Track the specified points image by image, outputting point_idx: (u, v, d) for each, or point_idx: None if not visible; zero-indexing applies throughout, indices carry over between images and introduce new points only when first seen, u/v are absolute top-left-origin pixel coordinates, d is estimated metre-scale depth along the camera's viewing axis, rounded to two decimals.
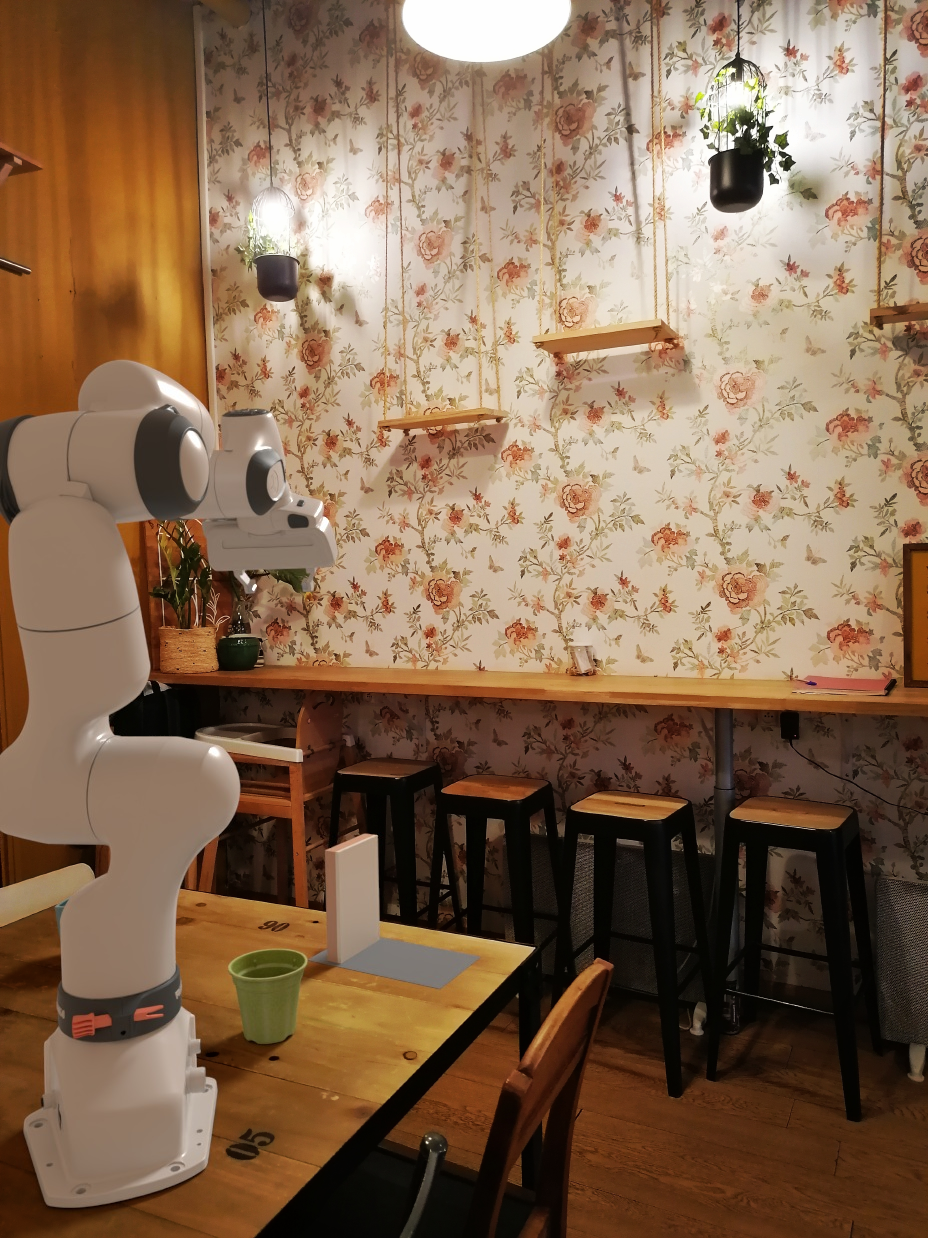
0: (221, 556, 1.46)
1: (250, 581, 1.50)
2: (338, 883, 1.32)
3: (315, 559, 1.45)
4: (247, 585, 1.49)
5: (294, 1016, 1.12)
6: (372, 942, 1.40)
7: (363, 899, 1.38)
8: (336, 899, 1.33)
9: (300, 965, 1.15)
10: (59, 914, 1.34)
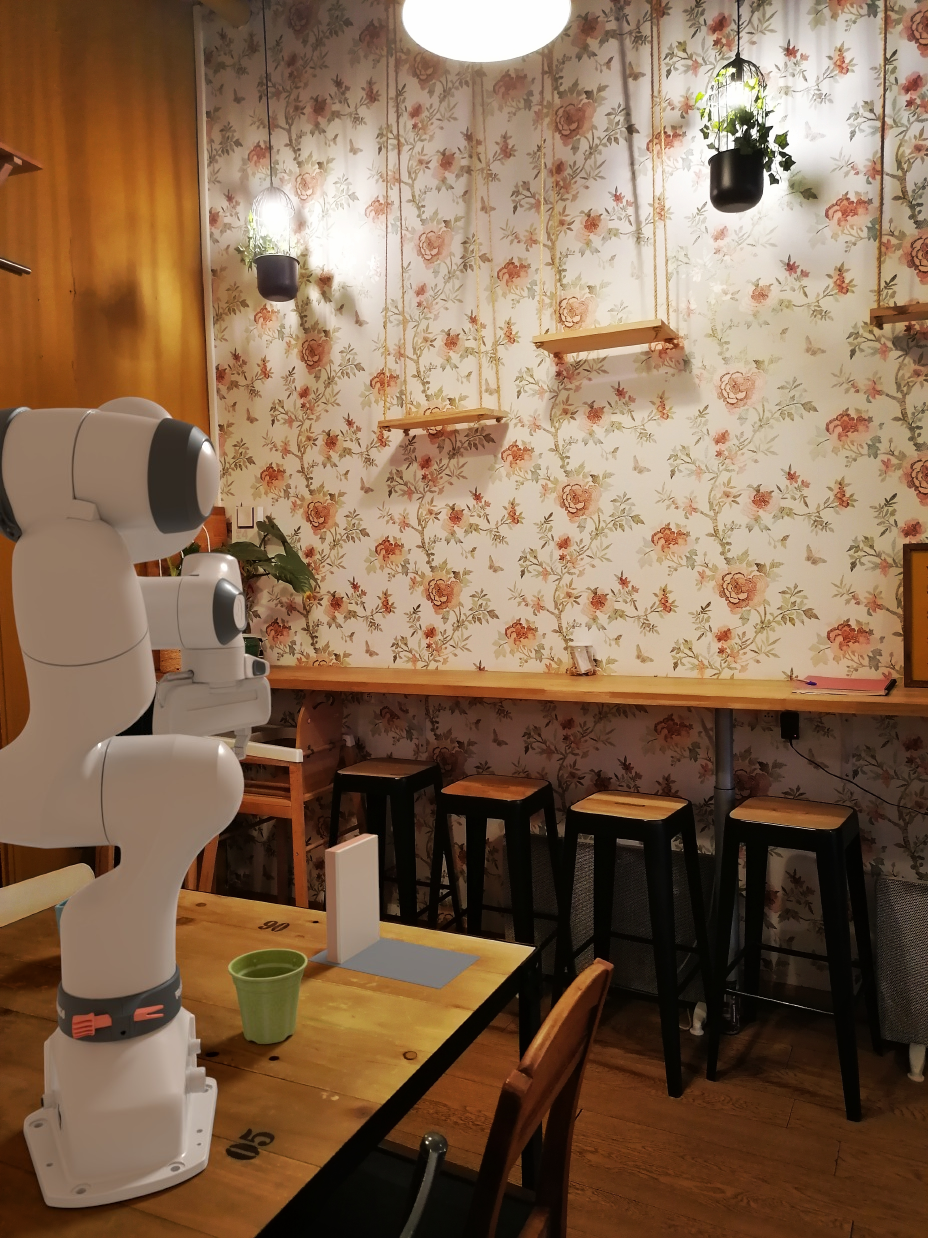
0: (183, 721, 1.25)
1: None
2: (338, 883, 1.32)
3: (258, 715, 1.38)
4: None
5: (294, 1016, 1.12)
6: (372, 942, 1.40)
7: (363, 899, 1.38)
8: (336, 899, 1.33)
9: (300, 965, 1.15)
10: (59, 914, 1.34)
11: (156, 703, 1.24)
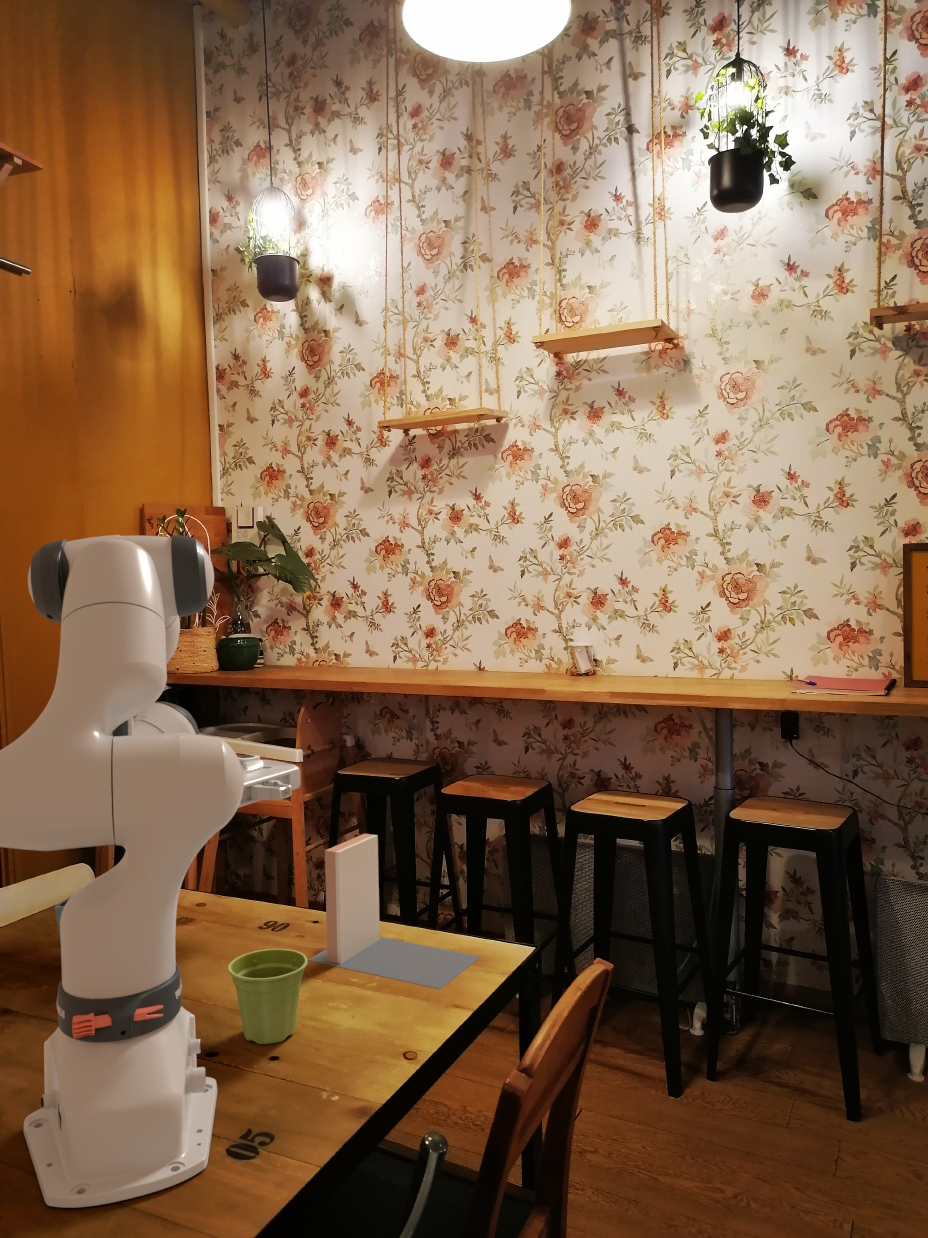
0: None
1: None
2: (338, 883, 1.32)
3: (283, 768, 1.52)
4: (274, 787, 1.43)
5: (294, 1016, 1.12)
6: (372, 942, 1.40)
7: (363, 899, 1.38)
8: (336, 899, 1.33)
9: (300, 965, 1.15)
10: (59, 914, 1.34)
11: None
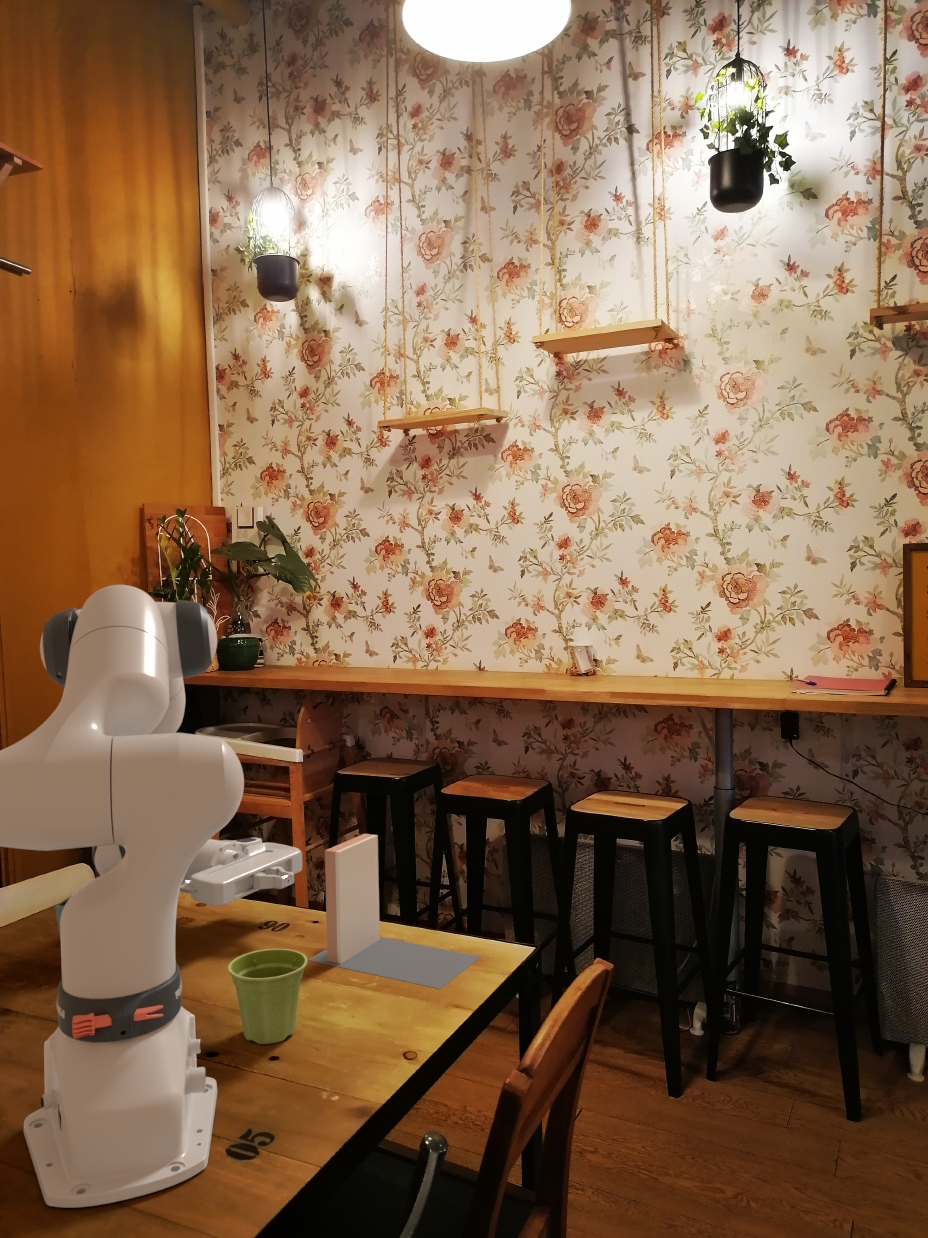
0: (216, 877, 1.40)
1: None
2: (338, 883, 1.32)
3: (285, 852, 1.52)
4: (276, 875, 1.43)
5: (294, 1016, 1.12)
6: (372, 942, 1.40)
7: (363, 899, 1.38)
8: (336, 899, 1.33)
9: (300, 965, 1.15)
10: (59, 914, 1.34)
11: (195, 897, 1.39)
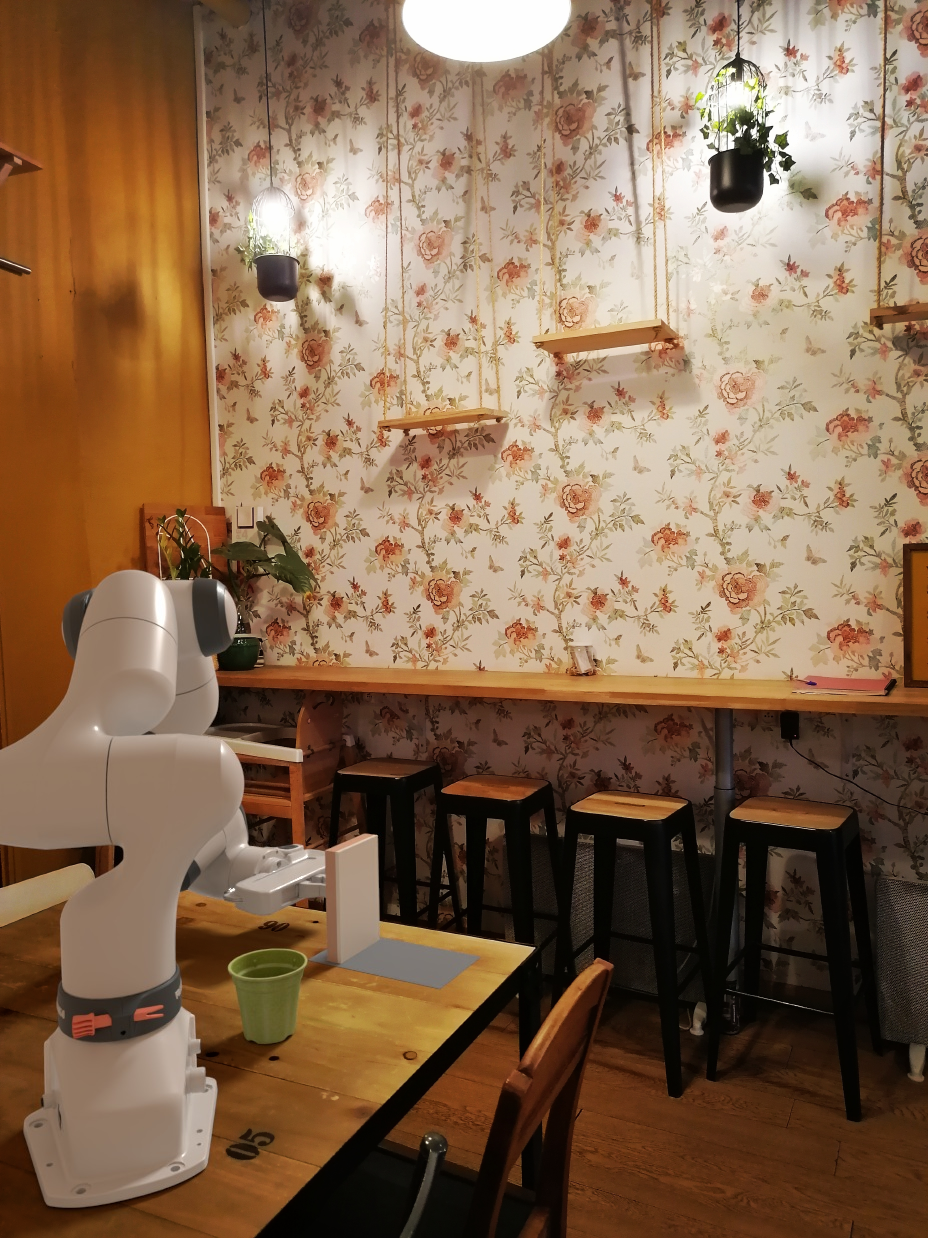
0: (262, 885, 1.36)
1: None
2: (338, 883, 1.32)
3: None
4: (322, 883, 1.39)
5: (294, 1016, 1.12)
6: (372, 942, 1.40)
7: (363, 899, 1.38)
8: (336, 899, 1.33)
9: (300, 965, 1.15)
10: None
11: (240, 907, 1.35)
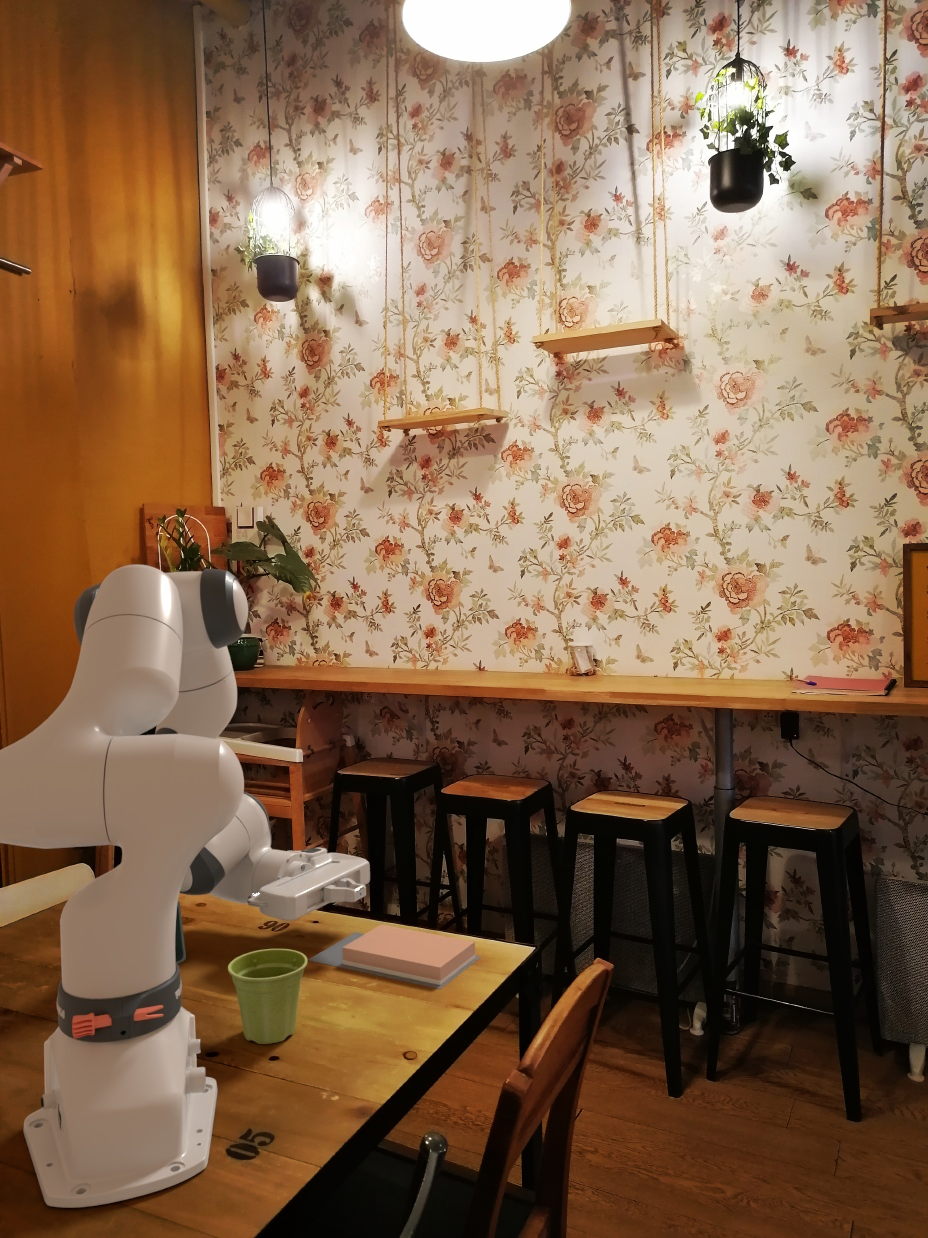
0: (287, 890, 1.33)
1: None
2: (412, 978, 1.27)
3: (353, 863, 1.46)
4: (348, 888, 1.37)
5: (294, 1016, 1.12)
6: None
7: None
8: (397, 971, 1.28)
9: (300, 965, 1.15)
10: None
11: (265, 911, 1.33)
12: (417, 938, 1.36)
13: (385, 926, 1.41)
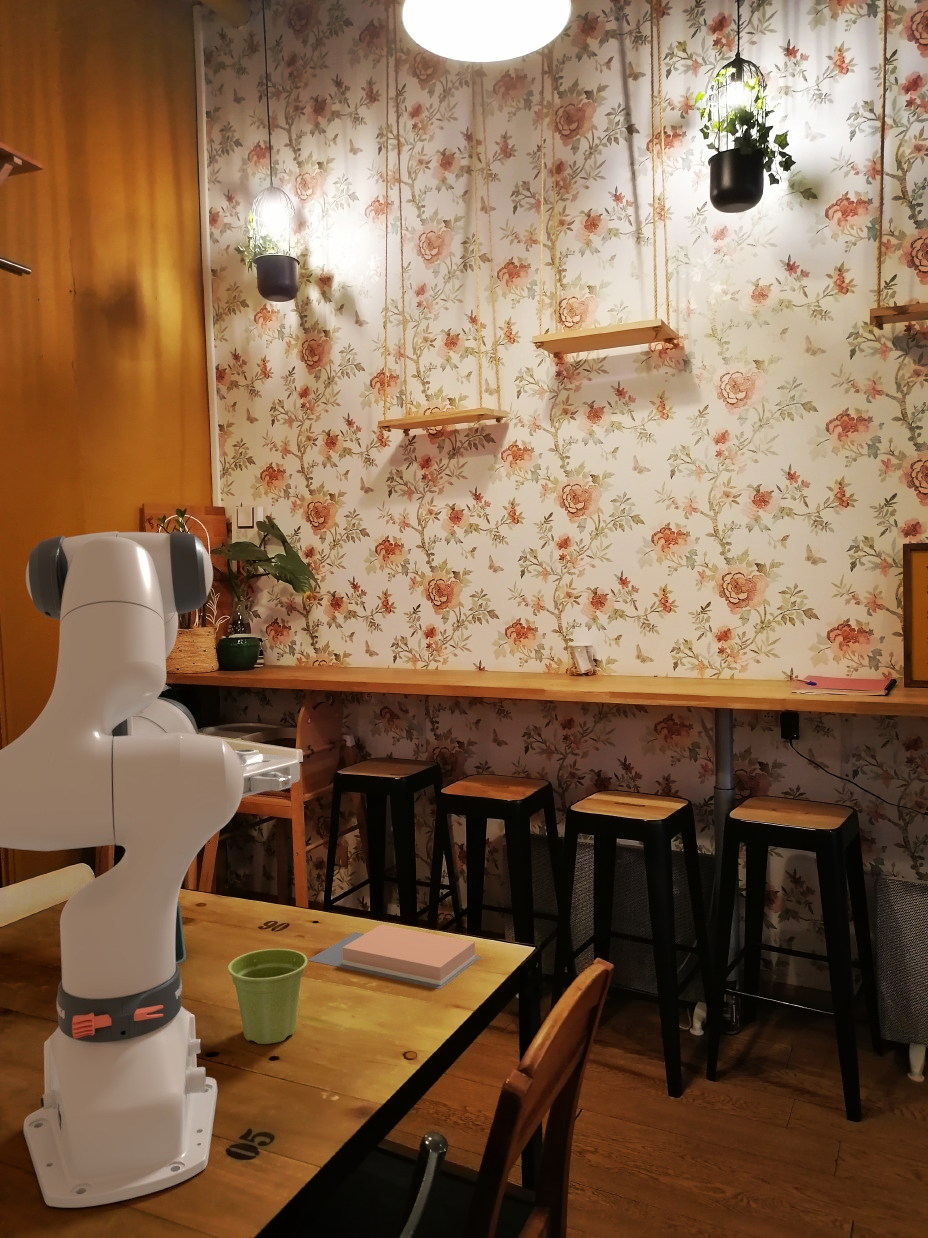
0: None
1: None
2: (412, 978, 1.27)
3: (283, 761, 1.52)
4: (273, 778, 1.43)
5: (294, 1016, 1.12)
6: None
7: None
8: (397, 971, 1.28)
9: (300, 965, 1.15)
10: None
11: None
12: (417, 938, 1.36)
13: (385, 926, 1.41)
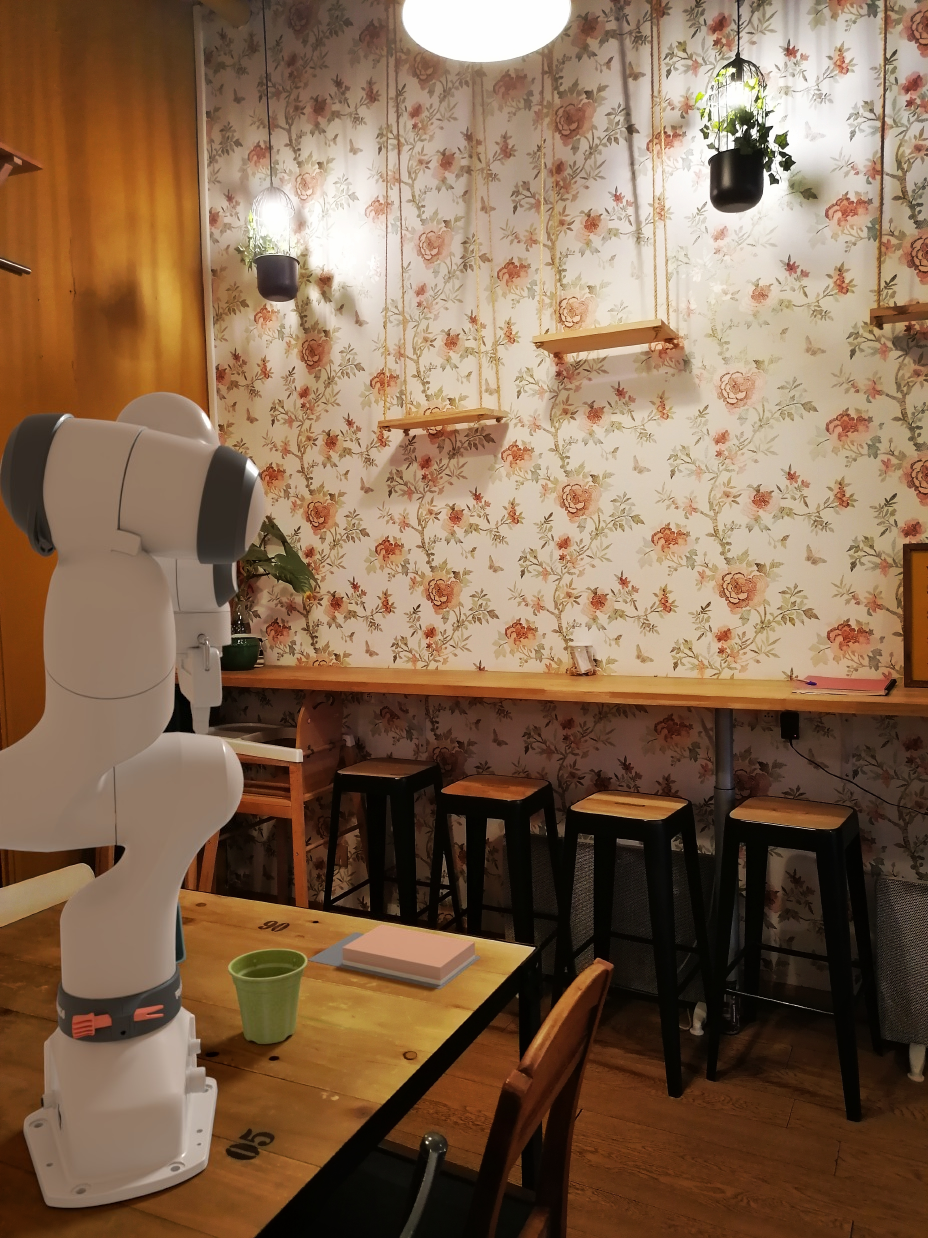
0: None
1: None
2: (412, 978, 1.27)
3: None
4: None
5: (294, 1016, 1.12)
6: None
7: None
8: (397, 971, 1.28)
9: (300, 965, 1.15)
10: None
11: (198, 667, 1.20)
12: (417, 938, 1.36)
13: (385, 926, 1.41)
